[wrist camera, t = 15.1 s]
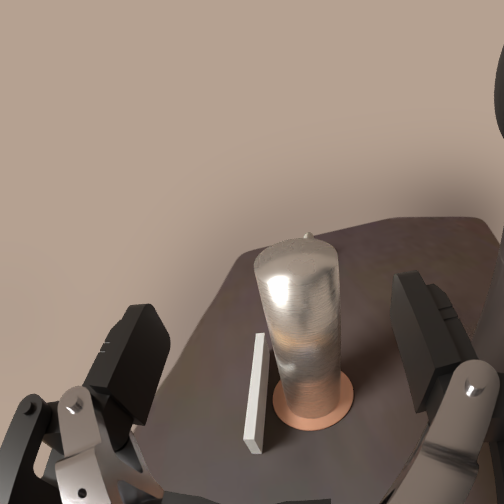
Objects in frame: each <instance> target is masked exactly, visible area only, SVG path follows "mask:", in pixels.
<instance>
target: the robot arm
mask: <svg viewBox="0 0 504 504" xmlns="http://www.w3.org/2000/svg"><path fill="white" fill-rule="evenodd" d="M494 104H495V114H496V119H497V124H498V127H499V130H500V132H501V134H502V136H503V138H504V46H503V49H502V52H501V55H500V58H499V63H498V67H497V72H496V79H495V90H494ZM390 317H391V325H392V329H393V332H394V335H395V338H396V342H397V345H398V348H399V352H400V355H401V358H402V362H403V365H404V369H405V373H406V376H407V380H408V384H409V388H410V392H411V396H412V400H413V404H414V408H415V412H416V413H420V412H424V411H427V415H428V419H429V421H428V423H427V425H426V427H425V429H424V431H423V433H422V435H421V437H420V439H419V441H418V442H417V444H416V446H415V448H414V450H413V452H412V453H411V455H410V457H409V459H408V461H407V462H406V464H405V466H404V467H403V469H402V471H401V472H400V474H399V475H398V477H397V478H396V480H395V481H394V483H393V484H392V486H391V487H390V488H389V490H388V491H387V493H386V494H385V496H384V497H383V499H382V500H381V501H380V503H379V504H464V502H465V500H466V498H467V496H468V494H469V492H470V490H471V488H472V486H473V483H474V481H475V479H476V476H477V473H478V469H479V465H478V463H477V457H478V454H479V452H480V449H481V447H482V444H483V442H489V446H490V451H491V456H492V462H493V468H494V475H495V483H496V491H497V501H498V504H504V228H503V233H502V239H501V244H500V249H499V253H498V258H497V262H496V266H495V270H494V274H493V278H492V281H491V285H490V288H489V292H488V295H487V298H486V302H485V305H484V308H483V311H482V314H481V317H480V319H479V322H478V325H477V328H476V330H475V333H474V336H473V338H472V341H471V342H470V339H469V337H468V335H467V333H466V331H465V329H464V327H463V325H462V323H461V321H460V319H458V315H457V313H456V311H455V310H454V308H452V304H451V302H450V300H449V298H448V297H447V295H446V293H445V292H443V291H442V290H441V289H440V288H439V287H437V286H436V285H435V284H430V285H426V284H425V283H424V281H423V279H422V277H421V275H420V273H419V272H418V271H417V270H415V271H409V272H403V273H397V274H394V276H393V285H392V297H391V308H390ZM169 351H170V337H169V334H168V332H167V330H166V329H165V327H164V325H163V323H162V321H161V319H160V318H159V316H158V314H157V312H156V310H155V308H154V307H153V306H152V305H151V304H139V305H130V306H129V307H128V309H127V310H126V313H125V314H124V316H123V318H122V320H120V321H119V322H118V323H117V324H116V325H115V326H114V327H113V328H112V329H111V330H110V332H109V334H108V336H107V338H106V339H105V343H103V345H102V347H101V349H100V353H98V355H97V357H96V359H95V361H94V363H93V365H92V367H91V369H90V371H89V373H88V375H87V377H86V379H85V381H84V383H83V385H82V386H76V387H73V388H71V389H69V390H68V391H66V392H65V393H64V395H63V396H62V397H61V399H60V401H56V402H49V403H46V402H45V401H44V400H43V399H42V398H41V397H40V396H39V395H37V394H30V395H28V396H26V397H25V398H24V399H23V400H22V401H21V402H20V404H19V406H18V408H17V410H16V413H15V414H14V417H13V419H12V421H11V424H10V426H9V428H8V431H7V433H6V435H5V438H4V441H3V443H2V446H1V448H0V504H219V503H216V502H213V501H211V500H208V499H205V498H203V497H199V496H192V495H185V494H179V493H174V492H168V491H164V490H163V489H162V488H161V486H160V485H159V484H158V483H157V482H156V481H155V480H154V479H153V477H152V476H151V474H150V472H149V470H148V467H147V465H146V463H145V461H144V458H143V456H142V453H141V451H140V449H139V446H138V444H137V441H136V439H135V436H134V434H133V432H132V431H131V427H132V424H136V425H142V426H145V424H146V421H147V418H148V414H149V411H150V408H151V405H152V402H153V399H154V396H155V393H156V390H157V386H158V383H159V380H160V377H161V374H162V371H163V368H164V365H165V362H166V359H167V356H168V354H169ZM42 441H43V442H44V443H45V444H47V445H48V446H50V447H51V448H52V450H51V453H50V456H49V459H48V462H47V465H46V468H45V471H44V475H43V477H42V478H38V477H37V476H36V475H35V473H34V470H33V465H34V462H35V459H36V456H37V453H38V450H39V447H40V445H41V442H42ZM277 504H331V499H322V500H308V501H286V502H282V503H277Z"/></svg>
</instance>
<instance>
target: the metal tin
mask: <svg viewBox="0 0 504 504" xmlns="http://www.w3.org/2000/svg"><path fill="white" fill-rule="evenodd" d="M254 271H255V275H256V280H257V284H258V288H259V292H260V296H261V300H262V304H263V308H264V312H265V317H266V321H267V325H268V329H269V333H270V337H271V341H272V345H273V349H274V353H275V357H276V362H277V366H278V370H279V374H280V378H281V382H282V386H283V390H284V394H285V398H286V402H287V406H288V407H289V409H290V410H291V411H292V412H293V413H294V414H295V415H297V416H299V417H301V418H305V419H317V418H321V417H324V416H326V415H328V414H329V413H331V412H332V411H333V410H334V409H335V408H336V406H337V405H338V403H339V400H340V386H341V317H340V288H339V268H338V254H337V252H336V250H335V249H334V247H333V246H331V245H330V244H328V243H326V242H324V241H321V240H317V239H311V238H298V239H290V240H286V241H282V242H279V243H277V244H274V245H272V246H270V247H268V248H267V249H265V250H264V251H262V252H261V253H260V254H259V255H258V257H257V258H256V260H255V262H254Z"/></svg>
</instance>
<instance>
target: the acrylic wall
mask: <svg viewBox="0 0 504 504" xmlns="http://www.w3.org/2000/svg"><path fill="white" fill-rule="evenodd" d="M269 360H270V352H269V349H268V345H267V341H266V337H265V333H257V334H256V340H255V348H254V357H253V365H252V373H251V382H250V390H249V398H248V406H247V414H246V422H245V430H244V438H243V440H244V441H245V443H246V445H247V446H248V448H249V450H250V451H251V453H252V454H262V448H263V436H264V425H265V413H266V400H267V387H268V374H269Z"/></svg>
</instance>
